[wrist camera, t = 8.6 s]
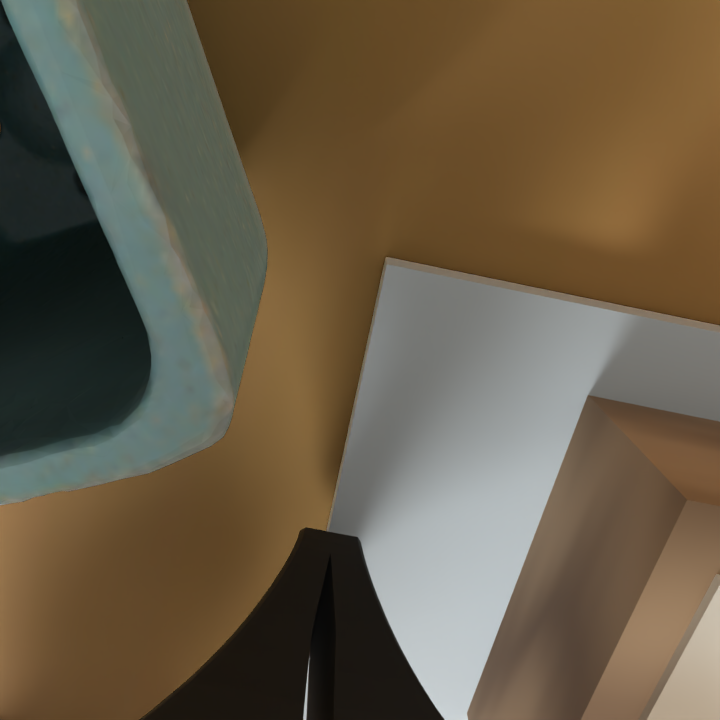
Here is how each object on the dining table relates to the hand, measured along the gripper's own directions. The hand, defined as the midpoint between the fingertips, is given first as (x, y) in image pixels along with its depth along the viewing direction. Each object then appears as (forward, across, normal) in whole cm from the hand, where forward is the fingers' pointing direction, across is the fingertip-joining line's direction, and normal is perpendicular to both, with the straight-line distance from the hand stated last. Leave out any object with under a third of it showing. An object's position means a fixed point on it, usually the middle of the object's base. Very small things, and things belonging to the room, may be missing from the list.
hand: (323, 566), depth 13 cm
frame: (+1, -7, 0) cm, 7 cm away
